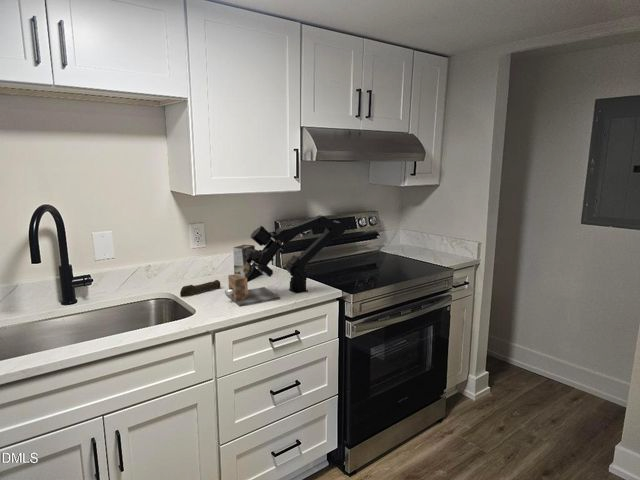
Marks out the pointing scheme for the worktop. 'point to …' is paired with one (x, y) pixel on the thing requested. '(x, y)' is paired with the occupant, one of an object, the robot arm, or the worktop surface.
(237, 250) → the coffee box
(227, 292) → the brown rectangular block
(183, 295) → the dark brown rounded bar
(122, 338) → the worktop surface
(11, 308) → the worktop surface
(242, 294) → the wooden block on baseplate
